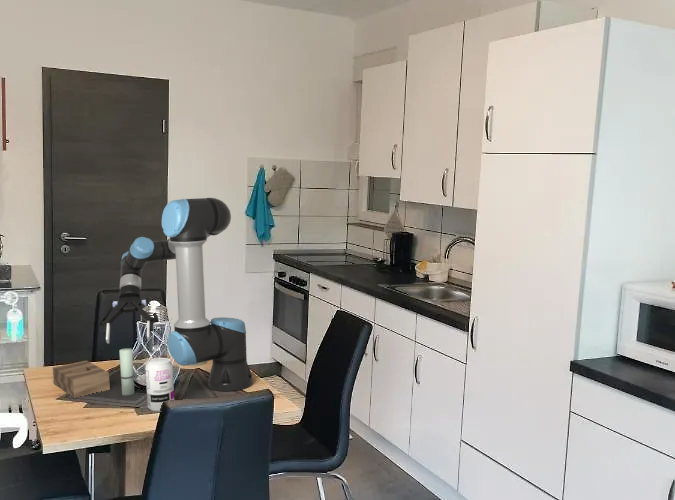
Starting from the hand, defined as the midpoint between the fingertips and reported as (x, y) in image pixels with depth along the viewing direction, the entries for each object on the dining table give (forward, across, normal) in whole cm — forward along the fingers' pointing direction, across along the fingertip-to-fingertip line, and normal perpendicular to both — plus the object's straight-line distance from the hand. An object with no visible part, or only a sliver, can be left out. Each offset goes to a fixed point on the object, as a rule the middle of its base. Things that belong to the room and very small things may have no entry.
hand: (128, 340), depth 235 cm
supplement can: (+30, -12, +7) cm, 33 cm away
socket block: (+10, +16, -12) cm, 23 cm away
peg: (+18, 0, -4) cm, 19 cm away
